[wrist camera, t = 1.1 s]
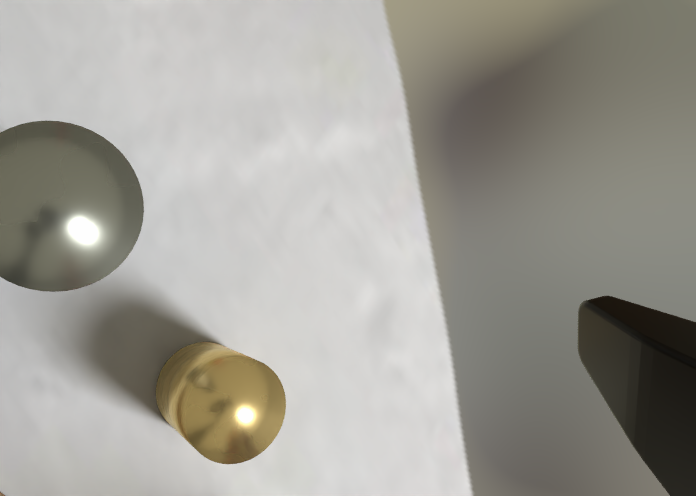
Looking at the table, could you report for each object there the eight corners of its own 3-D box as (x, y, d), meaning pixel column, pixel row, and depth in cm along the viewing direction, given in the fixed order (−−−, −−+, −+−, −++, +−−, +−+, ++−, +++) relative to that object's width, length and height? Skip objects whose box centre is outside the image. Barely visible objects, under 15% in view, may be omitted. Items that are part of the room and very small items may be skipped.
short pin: (200, 452, 26) (235, 485, 22) (135, 393, 24) (161, 418, 21) (262, 382, 27) (304, 403, 23) (203, 323, 26) (239, 335, 22)
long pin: (24, 293, 22) (53, 327, 14) (-62, 216, 21) (-88, 199, 12) (103, 222, 24) (176, 212, 15) (27, 145, 22) (59, 85, 14)
